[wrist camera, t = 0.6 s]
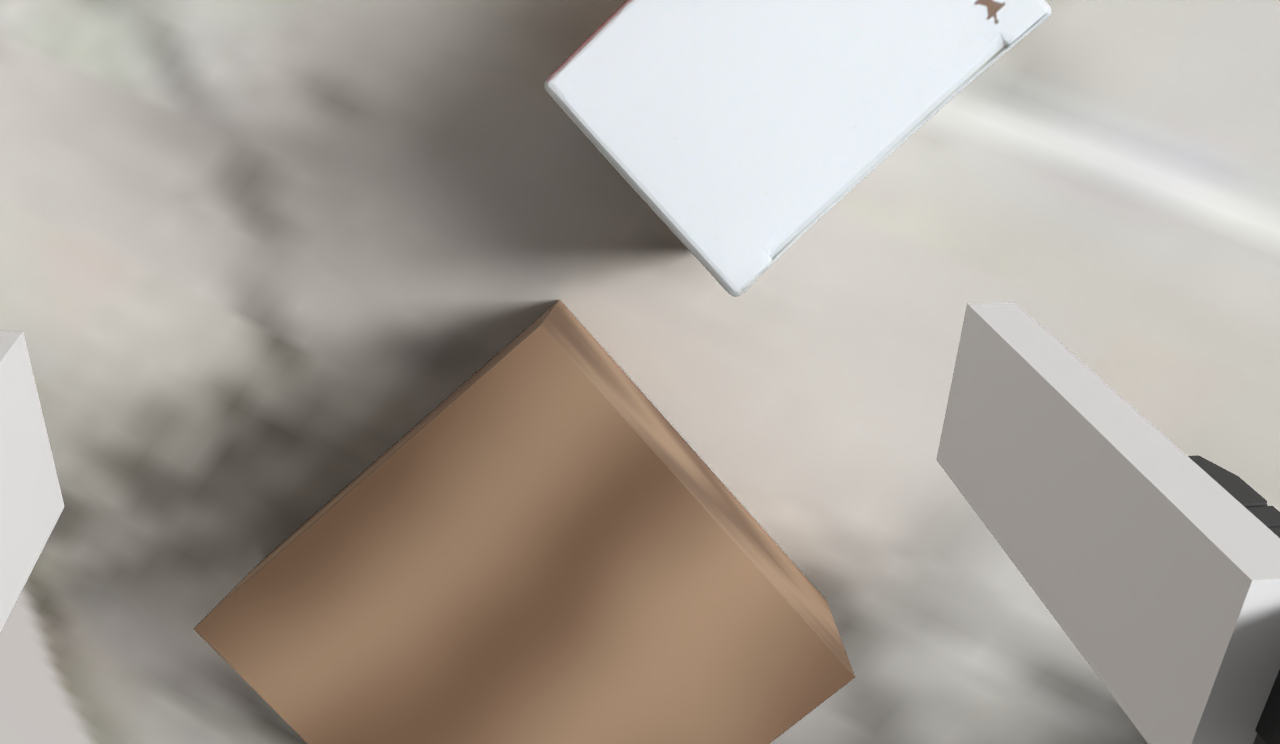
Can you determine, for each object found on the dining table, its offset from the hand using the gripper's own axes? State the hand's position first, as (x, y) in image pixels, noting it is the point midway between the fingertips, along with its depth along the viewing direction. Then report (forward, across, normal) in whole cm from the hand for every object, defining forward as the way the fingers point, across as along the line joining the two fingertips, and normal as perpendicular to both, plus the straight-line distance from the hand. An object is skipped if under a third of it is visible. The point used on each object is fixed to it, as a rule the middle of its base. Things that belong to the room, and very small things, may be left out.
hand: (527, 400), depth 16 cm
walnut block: (+13, -1, +13) cm, 18 cm away
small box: (+16, -7, -1) cm, 18 cm away
